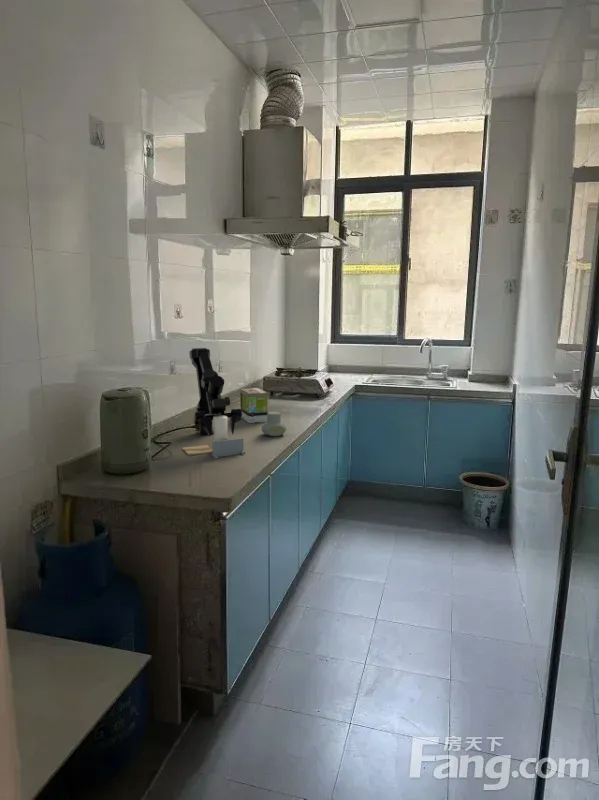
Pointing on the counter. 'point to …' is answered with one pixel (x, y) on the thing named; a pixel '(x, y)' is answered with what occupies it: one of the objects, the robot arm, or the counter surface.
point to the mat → (197, 450)
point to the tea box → (254, 405)
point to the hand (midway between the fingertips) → (221, 434)
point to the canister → (220, 427)
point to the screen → (228, 447)
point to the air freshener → (273, 425)
